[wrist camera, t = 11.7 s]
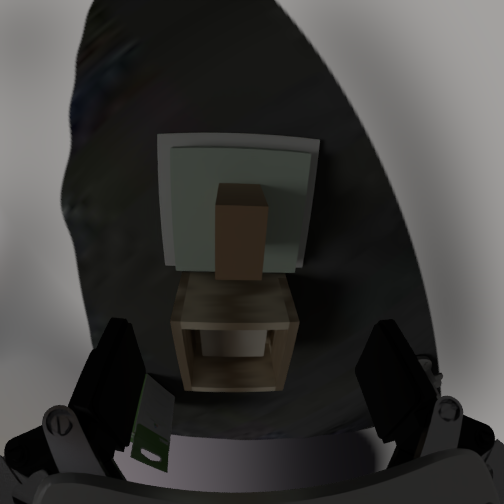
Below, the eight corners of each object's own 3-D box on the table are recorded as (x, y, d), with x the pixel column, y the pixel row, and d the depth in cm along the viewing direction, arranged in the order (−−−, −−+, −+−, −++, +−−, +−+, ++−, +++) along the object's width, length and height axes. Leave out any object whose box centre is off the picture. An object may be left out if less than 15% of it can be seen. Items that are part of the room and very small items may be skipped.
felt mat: (318, 139, 21) (320, 139, 20) (301, 264, 27) (302, 267, 26) (159, 133, 20) (157, 134, 19) (166, 262, 25) (165, 265, 25)
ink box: (128, 376, 34) (109, 455, 22) (147, 372, 34) (131, 456, 22) (156, 399, 37) (146, 473, 26) (175, 396, 37) (168, 473, 25)
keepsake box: (284, 273, 27) (299, 321, 21) (274, 342, 32) (282, 390, 26) (182, 271, 26) (170, 320, 20) (190, 342, 31) (184, 390, 25)
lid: (303, 149, 21) (335, 167, 15) (289, 259, 26) (308, 309, 19) (176, 144, 20) (150, 160, 14) (179, 257, 25) (165, 308, 18)
